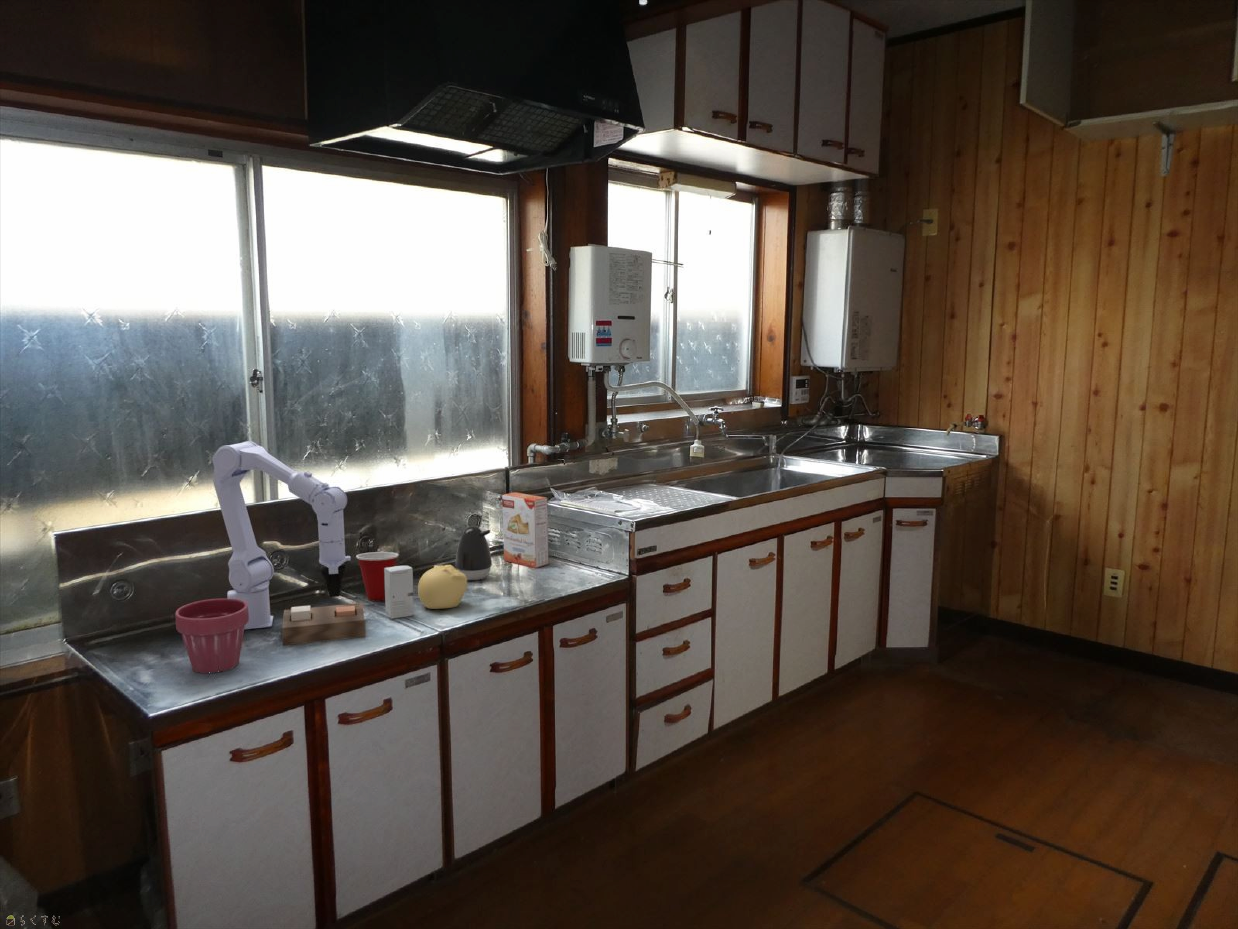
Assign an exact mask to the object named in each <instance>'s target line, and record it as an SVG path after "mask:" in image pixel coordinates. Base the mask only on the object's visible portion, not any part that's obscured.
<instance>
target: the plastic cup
mask: <svg viewBox="0 0 1238 929" xmlns="http://www.w3.org/2000/svg"><path fill="white" fill-rule="evenodd" d="M398 557H399V553H397V552H392V551H391V552H390V551H375V552H374V551H373V552H365V553H359V554H356V559H357V562H358V564H359V568H360V572H361V576H362V580H363V584H364V588H365V593H366V597H367V600H368V601H371V600H374V601H373V602H381V600H382V601H385V573H384V568H388V567H394V566H396V562H397V558H398Z"/></svg>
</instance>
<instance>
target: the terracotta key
mask: <svg viewBox="0 0 1238 929" xmlns="http://www.w3.org/2000/svg"><path fill="white" fill-rule="evenodd" d="M336 614H337V617H341V616H351V615H355V606H344V607H336Z"/></svg>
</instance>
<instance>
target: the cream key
mask: <svg viewBox="0 0 1238 929" xmlns="http://www.w3.org/2000/svg"><path fill="white" fill-rule="evenodd" d="M310 608H311V605H300V606H299V605H298V606H291V608H290V610H291V621H299V620H310V619H311V610H310Z"/></svg>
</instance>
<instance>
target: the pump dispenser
mask: <svg viewBox="0 0 1238 929" xmlns="http://www.w3.org/2000/svg"><path fill="white" fill-rule="evenodd" d="M488 534H491V530H490V529H487V530H482V529H481V528H480V527H479V526H475V525H469V526H467V527H466V528H465V530H463V531H462V534H461V536H460V538H459V542H458V545H457V549H456V555H455V569H457V570H459V571H460V572H461V573H463V574H465V575H466V577H467V581H470V580H475V581H481V580H483V579H485V578H486V577H487V576H488V574H489V573H490V571H491V567H492V565H493V562H492V554H491V550H490V546H489V544H488V541H487V538H486V536H487V535H488ZM480 579H481V580H480Z"/></svg>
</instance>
